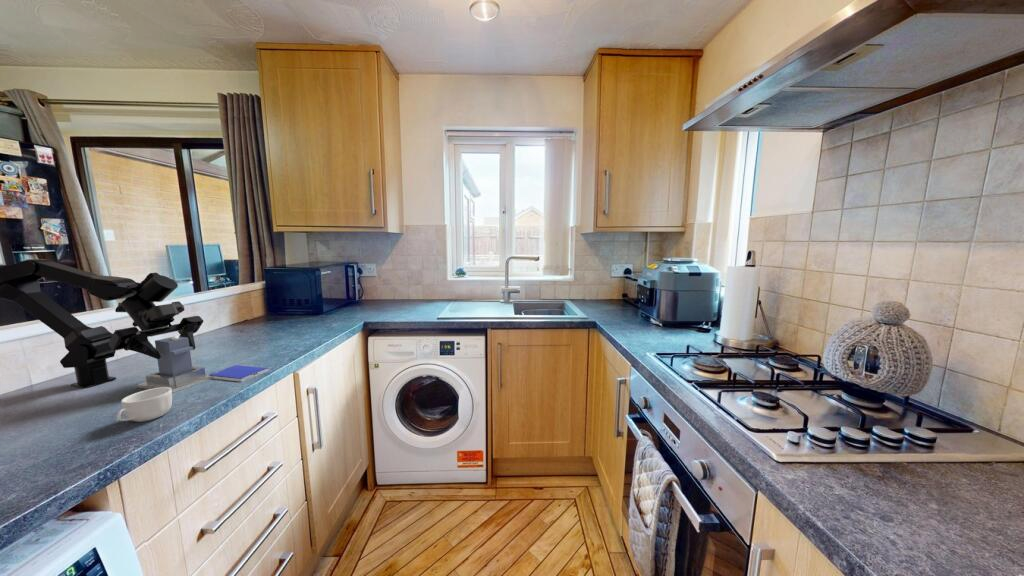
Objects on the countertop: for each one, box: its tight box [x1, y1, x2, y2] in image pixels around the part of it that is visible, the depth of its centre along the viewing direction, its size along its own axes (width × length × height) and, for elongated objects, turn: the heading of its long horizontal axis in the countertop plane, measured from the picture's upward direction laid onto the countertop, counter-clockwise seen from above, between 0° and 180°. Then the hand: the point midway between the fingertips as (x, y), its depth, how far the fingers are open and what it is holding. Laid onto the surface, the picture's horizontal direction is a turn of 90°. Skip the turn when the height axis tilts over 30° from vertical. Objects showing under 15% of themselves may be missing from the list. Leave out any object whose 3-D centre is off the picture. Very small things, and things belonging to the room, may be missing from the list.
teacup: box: [116, 387, 173, 423], centre depth 74 cm, size 10×8×5 cm
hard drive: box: [208, 364, 269, 382], centre depth 100 cm, size 2×8×12 cm
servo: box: [154, 335, 194, 377], centre depth 94 cm, size 8×4×13 cm, turn 75°
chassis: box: [137, 365, 214, 394], centre depth 95 cm, size 14×10×3 cm
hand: (177, 353), depth 93 cm, fingers open, 8 cm apart
